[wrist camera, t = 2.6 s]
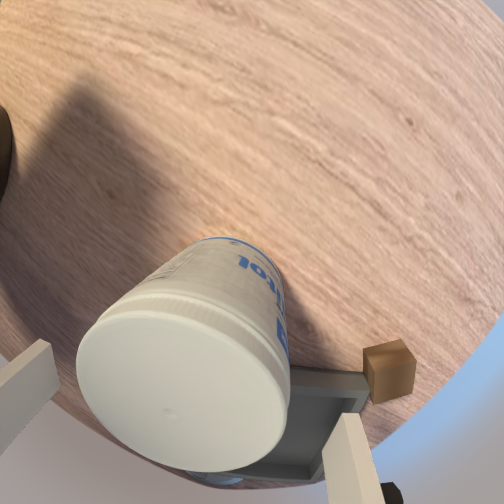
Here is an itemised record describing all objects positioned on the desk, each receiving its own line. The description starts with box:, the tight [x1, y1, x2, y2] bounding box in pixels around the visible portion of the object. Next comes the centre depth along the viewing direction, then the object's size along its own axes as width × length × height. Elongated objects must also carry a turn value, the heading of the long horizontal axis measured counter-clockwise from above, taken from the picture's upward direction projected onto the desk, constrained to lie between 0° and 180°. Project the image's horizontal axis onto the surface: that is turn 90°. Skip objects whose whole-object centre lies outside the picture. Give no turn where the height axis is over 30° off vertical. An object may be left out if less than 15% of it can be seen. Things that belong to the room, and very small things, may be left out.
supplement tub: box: [76, 235, 290, 472], centre depth 17 cm, size 10×10×15 cm
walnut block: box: [363, 339, 417, 405], centre depth 23 cm, size 4×4×4 cm
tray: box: [207, 365, 371, 483], centre depth 26 cm, size 17×17×3 cm
